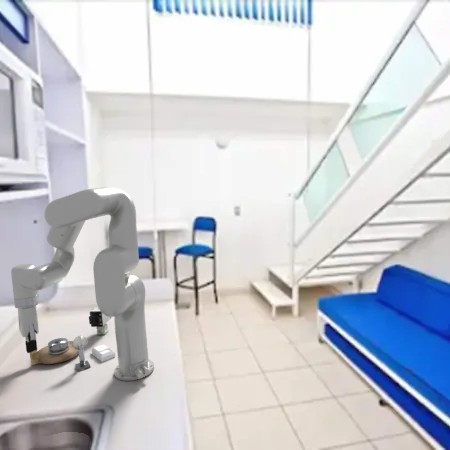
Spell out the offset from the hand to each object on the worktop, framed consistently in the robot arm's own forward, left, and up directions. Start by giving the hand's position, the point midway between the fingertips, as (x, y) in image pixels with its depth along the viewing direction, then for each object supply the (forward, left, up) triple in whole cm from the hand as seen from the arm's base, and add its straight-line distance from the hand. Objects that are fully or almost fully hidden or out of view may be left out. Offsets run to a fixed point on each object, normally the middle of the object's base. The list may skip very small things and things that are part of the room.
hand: (31, 351), depth 131 cm
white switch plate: (-10, -21, -5) cm, 24 cm away
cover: (-1, -8, -2) cm, 9 cm away
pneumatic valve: (+10, -26, -5) cm, 29 cm away
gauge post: (-14, -13, -5) cm, 20 cm away
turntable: (0, -8, -4) cm, 8 cm away
